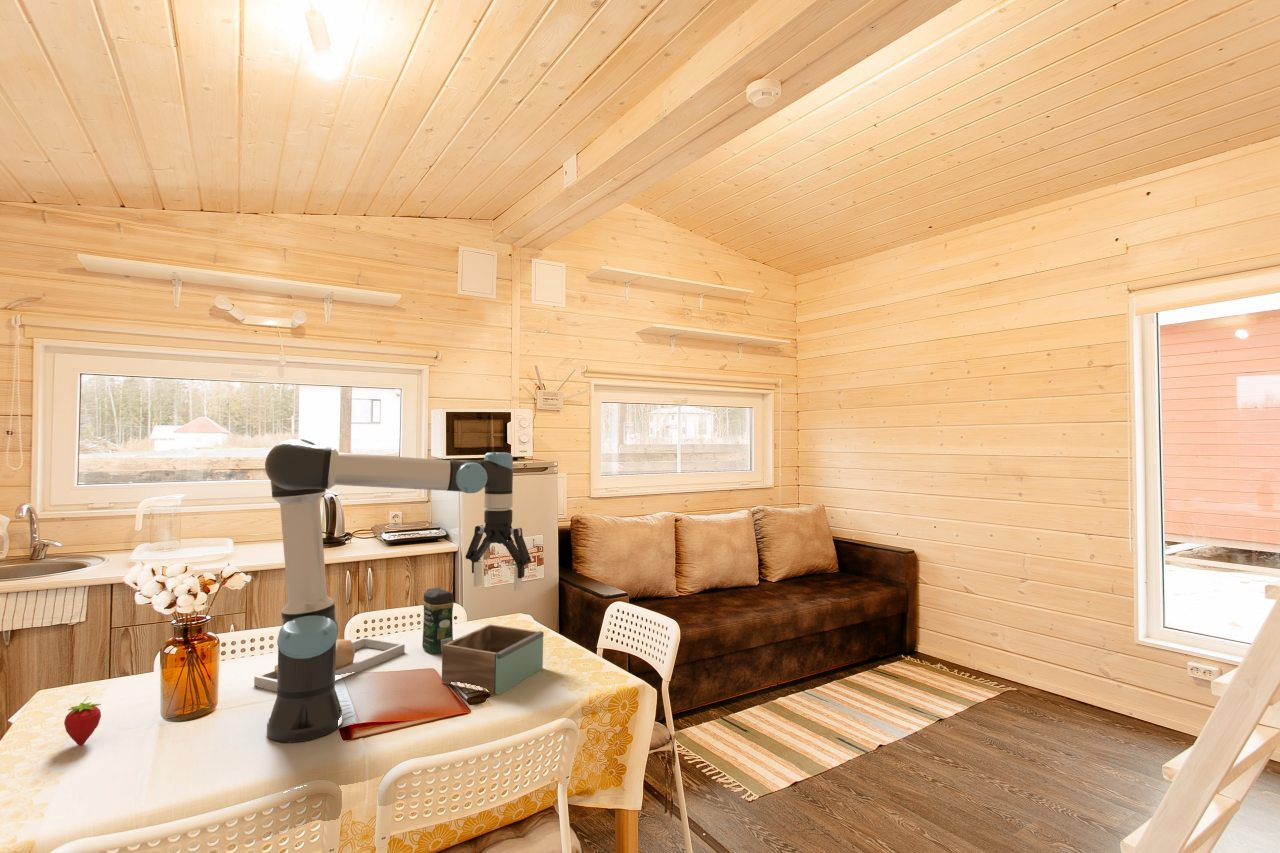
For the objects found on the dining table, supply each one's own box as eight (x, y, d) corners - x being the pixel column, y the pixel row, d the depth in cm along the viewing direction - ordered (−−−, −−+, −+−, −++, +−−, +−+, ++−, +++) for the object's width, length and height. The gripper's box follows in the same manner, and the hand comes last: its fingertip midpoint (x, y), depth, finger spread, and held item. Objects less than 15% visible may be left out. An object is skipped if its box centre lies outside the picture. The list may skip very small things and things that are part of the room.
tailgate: (499, 694, 163) (500, 654, 163) (494, 693, 164) (495, 653, 164) (542, 668, 183) (543, 631, 183) (538, 667, 183) (539, 631, 183)
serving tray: (298, 696, 162) (298, 686, 162) (254, 686, 168) (254, 676, 169) (404, 652, 197) (404, 644, 197) (364, 645, 203) (364, 637, 203)
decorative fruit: (100, 734, 141) (101, 687, 141) (100, 747, 135) (101, 698, 135) (63, 742, 137) (65, 694, 137) (62, 755, 131) (64, 706, 131)
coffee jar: (418, 648, 201) (419, 588, 201) (442, 643, 206) (443, 584, 206) (431, 656, 194) (433, 594, 194) (456, 650, 199) (457, 590, 199)
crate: (494, 697, 164) (495, 654, 164) (441, 687, 170) (442, 645, 170) (537, 670, 183) (538, 631, 183) (489, 662, 190) (490, 624, 190)
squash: (362, 673, 180) (360, 643, 178) (281, 699, 168) (278, 667, 166) (350, 655, 188) (348, 627, 186) (273, 679, 176) (270, 649, 174)
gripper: (544, 509, 176) (543, 589, 176) (469, 505, 185) (469, 580, 185) (529, 512, 169) (528, 595, 169) (453, 508, 178) (452, 586, 178)
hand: (497, 587), depth 177 cm, fingers open, 12 cm apart
